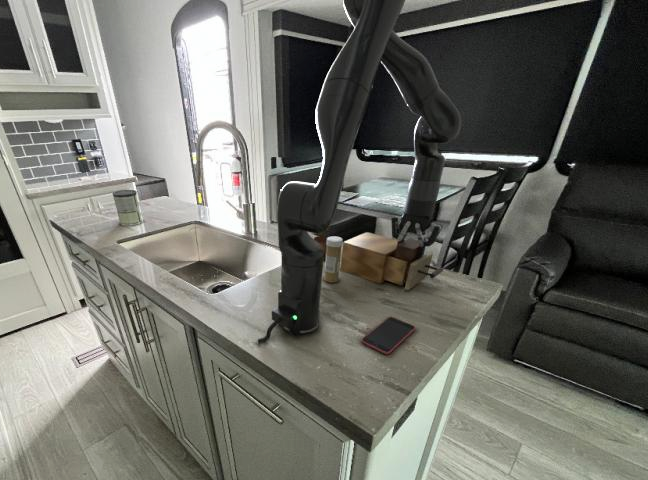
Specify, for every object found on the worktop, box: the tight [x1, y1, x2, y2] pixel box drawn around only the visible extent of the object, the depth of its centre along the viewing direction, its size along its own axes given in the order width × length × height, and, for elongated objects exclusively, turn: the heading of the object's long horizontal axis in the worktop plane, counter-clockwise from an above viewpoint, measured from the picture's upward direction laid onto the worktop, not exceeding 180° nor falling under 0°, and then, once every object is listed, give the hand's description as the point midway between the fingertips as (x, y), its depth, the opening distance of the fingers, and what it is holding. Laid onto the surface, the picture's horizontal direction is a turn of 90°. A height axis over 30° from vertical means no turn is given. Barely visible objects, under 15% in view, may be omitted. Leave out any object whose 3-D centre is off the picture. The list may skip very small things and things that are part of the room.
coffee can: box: [112, 189, 144, 227], centre depth 150 cm, size 10×10×14 cm
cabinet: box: [339, 231, 398, 285], centre depth 104 cm, size 15×14×10 cm
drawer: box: [382, 251, 444, 291], centre depth 97 cm, size 18×12×8 cm
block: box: [394, 237, 419, 263], centre depth 94 cm, size 5×8×4 cm, turn 134°
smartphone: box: [361, 316, 416, 355], centre depth 75 cm, size 7×1×14 cm
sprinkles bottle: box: [323, 236, 344, 283], centre depth 97 cm, size 5×5×14 cm
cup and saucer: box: [313, 235, 331, 260], centre depth 116 cm, size 12×12×6 cm
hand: (408, 255), depth 95 cm, fingers closed on block, 5 cm apart
